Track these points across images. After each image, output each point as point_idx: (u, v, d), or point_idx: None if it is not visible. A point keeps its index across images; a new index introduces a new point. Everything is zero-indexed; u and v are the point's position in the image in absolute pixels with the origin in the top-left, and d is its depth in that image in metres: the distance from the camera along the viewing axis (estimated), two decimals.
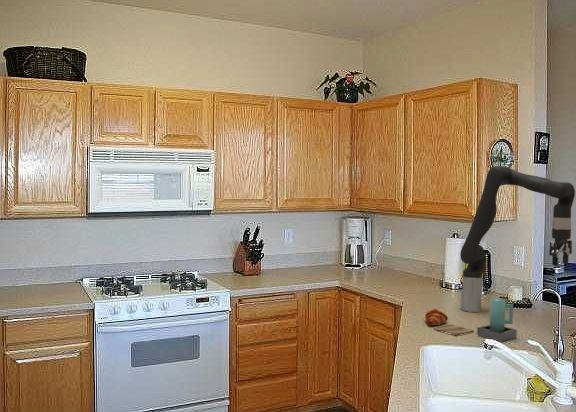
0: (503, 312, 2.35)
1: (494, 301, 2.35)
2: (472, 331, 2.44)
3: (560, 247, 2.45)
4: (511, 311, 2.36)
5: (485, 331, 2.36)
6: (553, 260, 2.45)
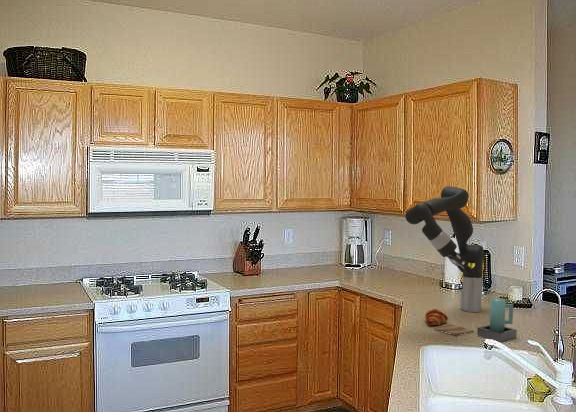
0: (503, 312, 2.35)
1: (494, 301, 2.35)
2: (472, 331, 2.44)
3: None
4: (511, 311, 2.36)
5: (485, 331, 2.36)
6: None
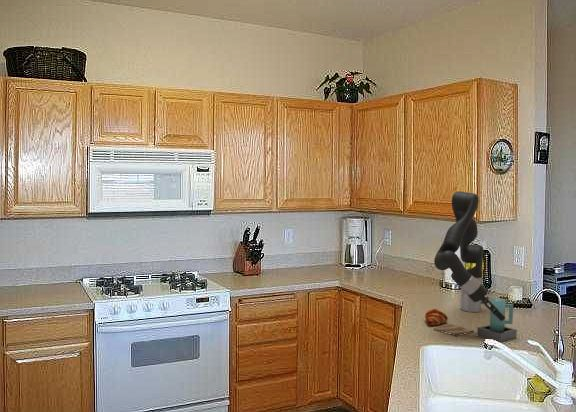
0: (503, 312, 2.35)
1: (494, 301, 2.35)
2: (472, 331, 2.44)
3: None
4: (511, 311, 2.36)
5: (485, 331, 2.36)
6: None
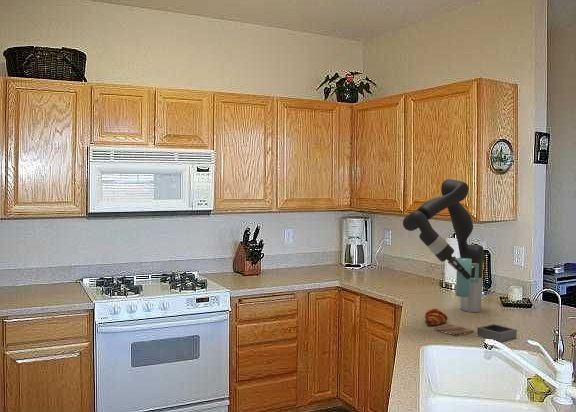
0: (469, 271, 2.41)
1: (460, 260, 2.41)
2: (472, 331, 2.44)
3: None
4: (477, 270, 2.42)
5: (485, 331, 2.36)
6: None
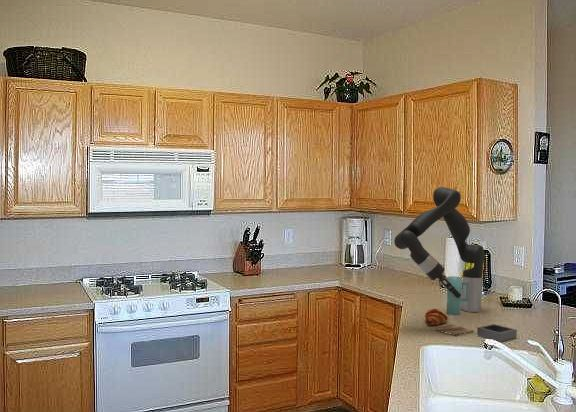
0: (459, 290, 2.43)
1: (451, 279, 2.43)
2: (472, 331, 2.44)
3: None
4: (467, 289, 2.44)
5: (485, 331, 2.36)
6: None
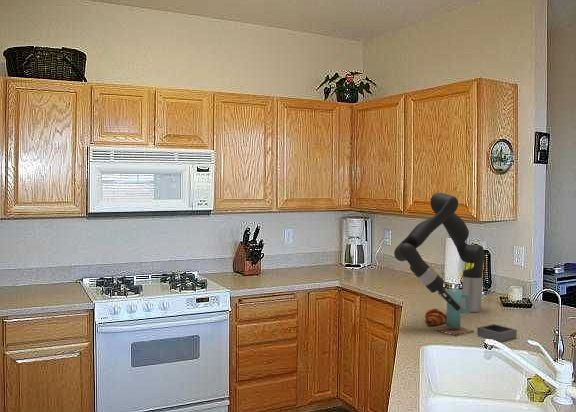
0: (459, 302, 2.43)
1: (450, 291, 2.43)
2: (472, 331, 2.44)
3: None
4: (467, 301, 2.44)
5: (485, 331, 2.36)
6: None
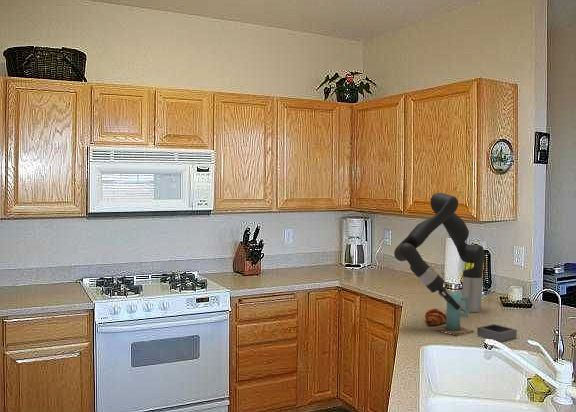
0: (459, 305, 2.43)
1: None
2: (472, 331, 2.44)
3: None
4: (466, 304, 2.44)
5: (485, 331, 2.36)
6: None
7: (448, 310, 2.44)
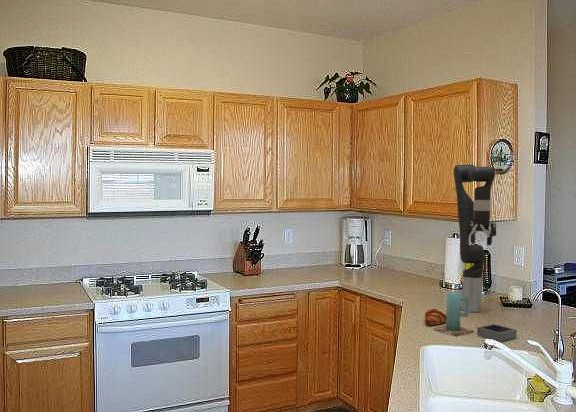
0: (458, 305, 2.43)
1: (450, 294, 2.43)
2: (472, 331, 2.44)
3: (474, 227, 2.64)
4: (466, 304, 2.44)
5: (485, 331, 2.36)
6: None
7: (448, 310, 2.44)
